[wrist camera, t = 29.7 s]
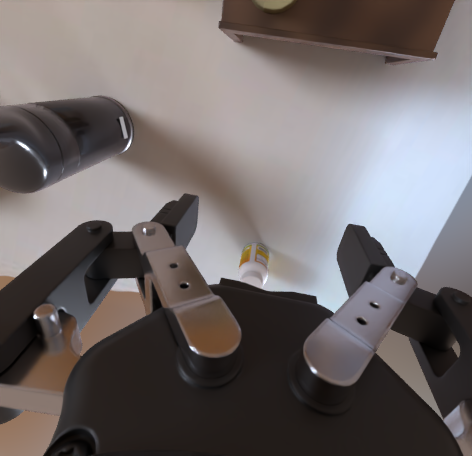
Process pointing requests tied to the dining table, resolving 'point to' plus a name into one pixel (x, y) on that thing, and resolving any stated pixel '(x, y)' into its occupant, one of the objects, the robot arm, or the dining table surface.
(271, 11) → the olive green peg figure
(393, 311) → the robot arm
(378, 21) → the brown wooden shelf
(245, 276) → the supplement bottle
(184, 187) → the dining table surface
